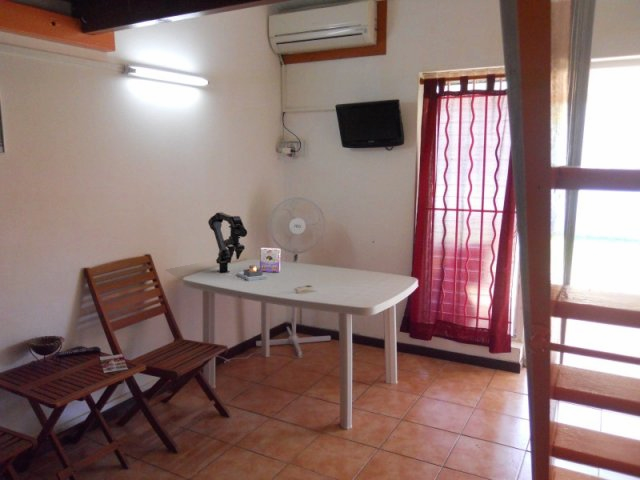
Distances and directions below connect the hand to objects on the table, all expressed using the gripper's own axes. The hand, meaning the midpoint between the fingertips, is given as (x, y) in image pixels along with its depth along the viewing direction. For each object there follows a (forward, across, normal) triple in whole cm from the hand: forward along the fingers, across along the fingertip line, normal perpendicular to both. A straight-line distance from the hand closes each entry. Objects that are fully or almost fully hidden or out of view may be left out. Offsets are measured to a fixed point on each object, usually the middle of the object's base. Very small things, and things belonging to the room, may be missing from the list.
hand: (234, 258), depth 334 cm
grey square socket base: (+12, +9, +8) cm, 17 cm away
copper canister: (+12, +11, +8) cm, 18 cm away
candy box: (+12, -1, +28) cm, 31 cm away
